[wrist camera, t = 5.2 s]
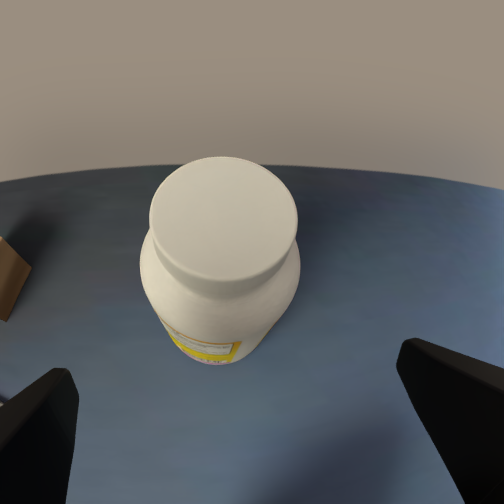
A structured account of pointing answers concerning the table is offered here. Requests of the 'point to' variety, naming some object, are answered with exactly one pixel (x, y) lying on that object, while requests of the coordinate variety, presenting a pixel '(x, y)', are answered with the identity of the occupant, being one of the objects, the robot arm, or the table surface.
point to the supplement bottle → (220, 256)
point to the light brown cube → (10, 277)
